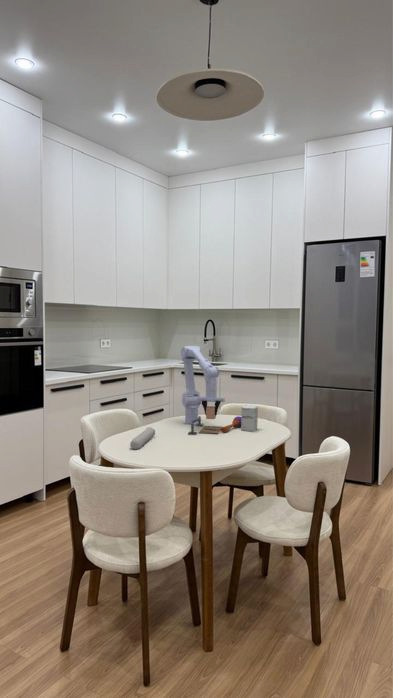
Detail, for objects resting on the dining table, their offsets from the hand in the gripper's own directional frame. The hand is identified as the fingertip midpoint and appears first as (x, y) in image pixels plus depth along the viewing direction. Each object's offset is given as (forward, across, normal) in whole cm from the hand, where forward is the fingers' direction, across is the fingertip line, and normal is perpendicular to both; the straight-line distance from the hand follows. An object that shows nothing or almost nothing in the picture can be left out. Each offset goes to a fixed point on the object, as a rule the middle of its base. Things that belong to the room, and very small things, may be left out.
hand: (210, 415), depth 252 cm
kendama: (+9, +11, +6) cm, 15 cm away
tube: (+9, -28, -32) cm, 44 cm away
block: (+2, 0, 0) cm, 2 cm away
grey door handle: (+8, -8, 0) cm, 11 cm away
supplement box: (+8, +20, +6) cm, 23 cm away
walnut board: (+8, 0, 0) cm, 8 cm away
